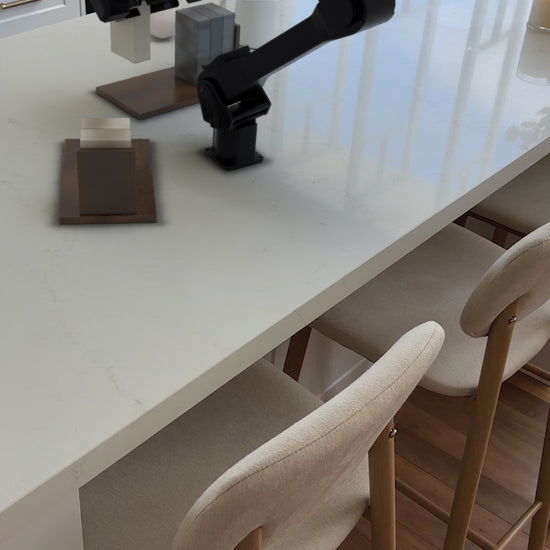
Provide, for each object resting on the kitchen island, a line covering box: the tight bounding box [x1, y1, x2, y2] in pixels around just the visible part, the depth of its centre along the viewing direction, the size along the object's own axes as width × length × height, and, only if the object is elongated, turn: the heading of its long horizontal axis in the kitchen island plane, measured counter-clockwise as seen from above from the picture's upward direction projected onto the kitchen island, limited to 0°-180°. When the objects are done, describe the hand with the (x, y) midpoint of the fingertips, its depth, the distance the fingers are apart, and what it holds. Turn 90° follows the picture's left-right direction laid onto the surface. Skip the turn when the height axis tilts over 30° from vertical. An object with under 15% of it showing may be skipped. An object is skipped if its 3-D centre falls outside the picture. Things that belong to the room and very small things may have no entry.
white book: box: [109, 1, 152, 65], centre depth 133 cm, size 6×3×10 cm, turn 45°
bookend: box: [95, 2, 240, 121], centre depth 142 cm, size 12×22×12 cm, turn 133°
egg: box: [150, 7, 178, 40], centre depth 162 cm, size 6×6×8 cm
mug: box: [218, 0, 282, 50], centre depth 164 cm, size 12×8×10 cm
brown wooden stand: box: [58, 117, 158, 225], centre depth 117 cm, size 12×21×11 cm, turn 9°
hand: (124, 17), depth 133 cm, fingers closed on white book, 3 cm apart
